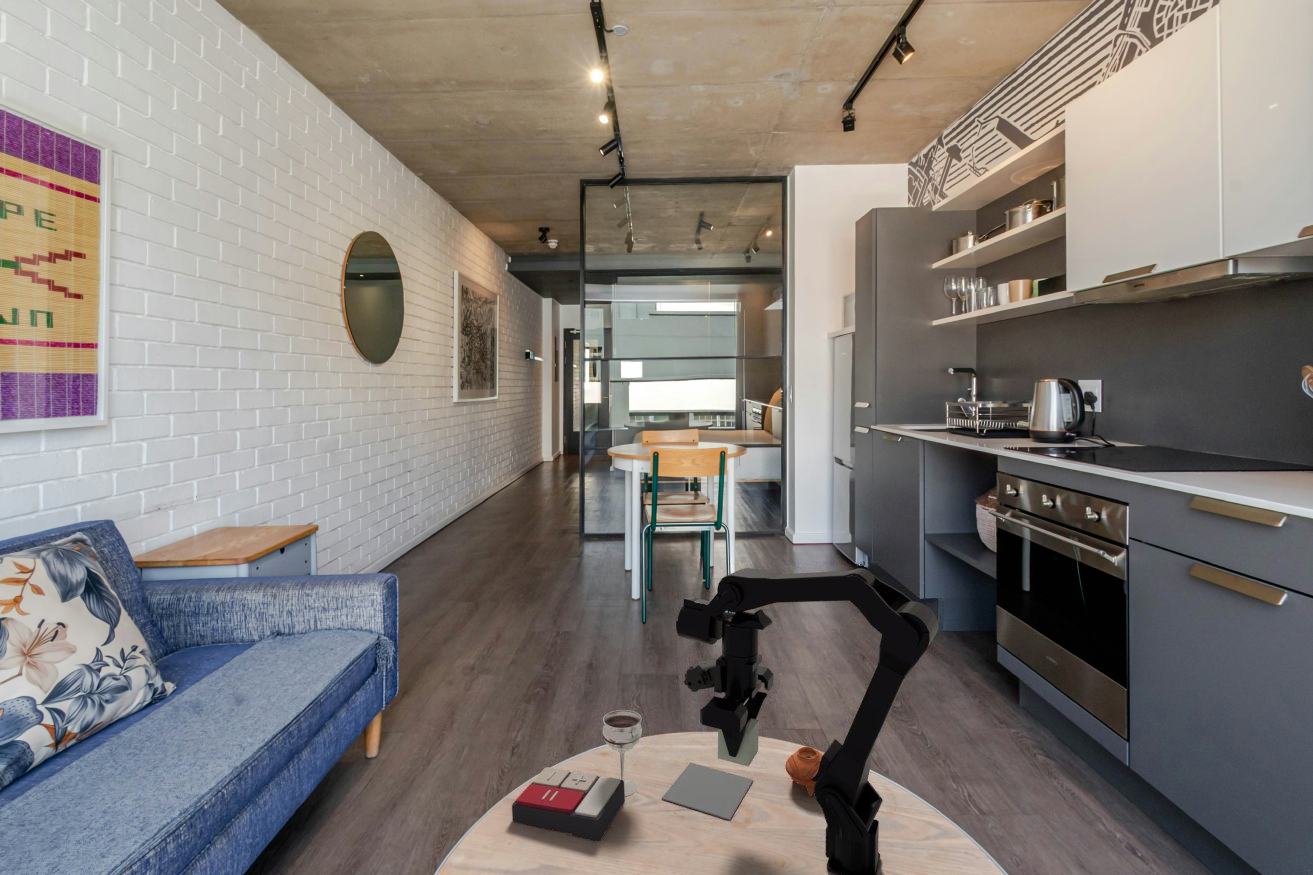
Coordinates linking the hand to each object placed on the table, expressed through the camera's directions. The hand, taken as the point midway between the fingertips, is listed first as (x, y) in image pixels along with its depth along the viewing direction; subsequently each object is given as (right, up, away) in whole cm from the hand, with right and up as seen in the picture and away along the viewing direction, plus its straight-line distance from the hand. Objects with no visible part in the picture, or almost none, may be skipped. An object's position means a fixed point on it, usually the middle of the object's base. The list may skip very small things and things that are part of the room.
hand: (738, 747), depth 97 cm
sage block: (0, -1, 0) cm, 1 cm away
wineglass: (-19, -11, +8) cm, 23 cm away
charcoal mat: (-4, -11, +8) cm, 14 cm away
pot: (+13, -11, +9) cm, 20 cm away
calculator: (-27, -12, +2) cm, 30 cm away
